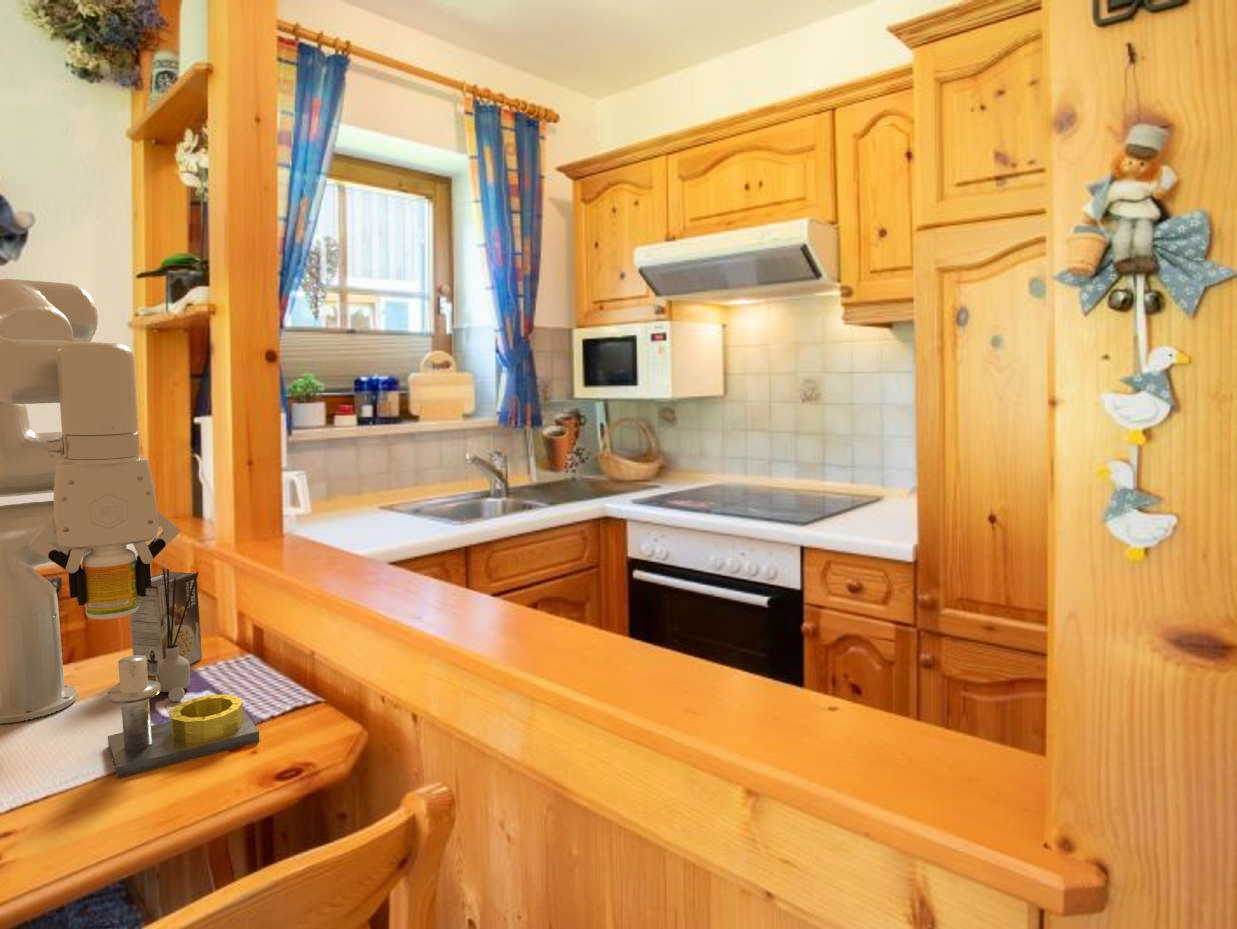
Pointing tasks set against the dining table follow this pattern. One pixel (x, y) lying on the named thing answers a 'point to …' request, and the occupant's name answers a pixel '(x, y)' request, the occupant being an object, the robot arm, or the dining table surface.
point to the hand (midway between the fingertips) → (111, 596)
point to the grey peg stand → (171, 724)
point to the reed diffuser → (173, 655)
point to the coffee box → (153, 620)
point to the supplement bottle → (110, 582)
